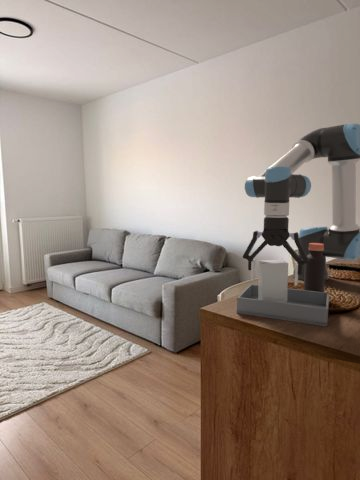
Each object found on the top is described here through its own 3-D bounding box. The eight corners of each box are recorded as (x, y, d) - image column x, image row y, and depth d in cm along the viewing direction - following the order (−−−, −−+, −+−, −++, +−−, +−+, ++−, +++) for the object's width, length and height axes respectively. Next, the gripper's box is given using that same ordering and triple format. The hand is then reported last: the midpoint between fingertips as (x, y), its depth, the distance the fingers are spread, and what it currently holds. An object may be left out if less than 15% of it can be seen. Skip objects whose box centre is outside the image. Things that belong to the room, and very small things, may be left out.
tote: (249, 297, 121) (250, 284, 120) (328, 307, 110) (329, 292, 110) (236, 312, 105) (237, 297, 104) (327, 326, 94) (328, 309, 93)
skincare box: (281, 302, 112) (283, 259, 110) (287, 308, 106) (289, 262, 104) (256, 302, 112) (258, 259, 110) (261, 308, 106) (263, 262, 104)
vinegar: (326, 302, 116) (330, 245, 114) (306, 301, 116) (309, 245, 114) (319, 296, 123) (322, 242, 120) (300, 296, 123) (303, 242, 121)
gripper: (234, 216, 107) (233, 280, 110) (318, 218, 97) (314, 289, 99) (240, 215, 114) (239, 275, 117) (319, 216, 103) (316, 283, 106)
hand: (273, 282), depth 108 cm, fingers open, 13 cm apart
